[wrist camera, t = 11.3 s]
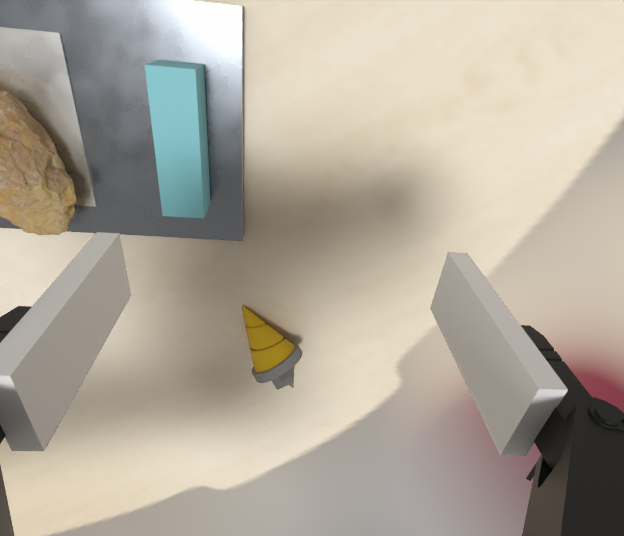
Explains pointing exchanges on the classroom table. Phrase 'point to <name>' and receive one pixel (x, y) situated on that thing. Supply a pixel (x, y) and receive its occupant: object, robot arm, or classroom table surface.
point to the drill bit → (270, 352)
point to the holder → (127, 103)
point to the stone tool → (31, 173)
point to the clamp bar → (180, 136)
